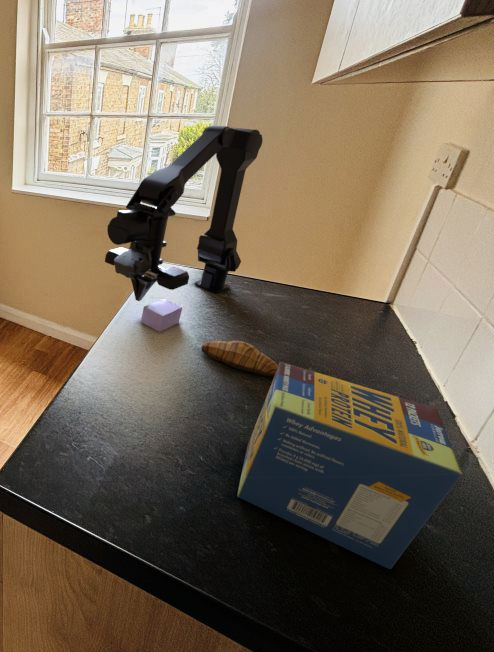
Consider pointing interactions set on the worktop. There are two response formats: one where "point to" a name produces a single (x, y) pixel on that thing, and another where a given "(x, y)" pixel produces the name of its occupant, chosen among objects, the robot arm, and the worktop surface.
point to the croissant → (240, 356)
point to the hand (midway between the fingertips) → (138, 300)
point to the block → (161, 315)
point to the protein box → (348, 462)
